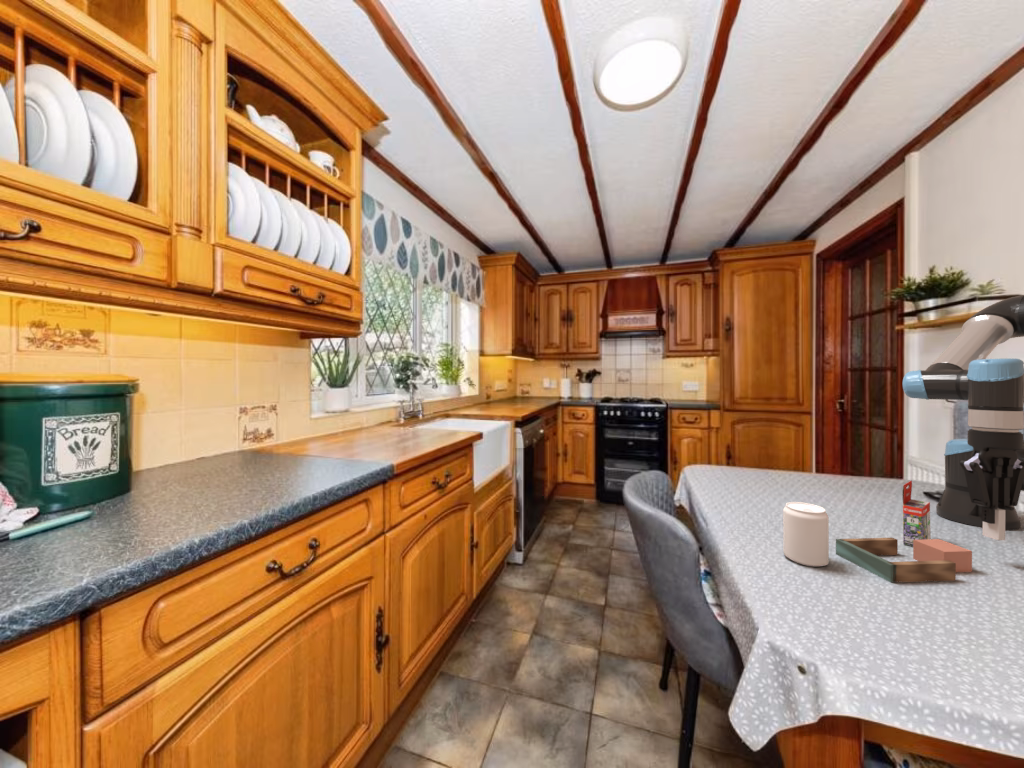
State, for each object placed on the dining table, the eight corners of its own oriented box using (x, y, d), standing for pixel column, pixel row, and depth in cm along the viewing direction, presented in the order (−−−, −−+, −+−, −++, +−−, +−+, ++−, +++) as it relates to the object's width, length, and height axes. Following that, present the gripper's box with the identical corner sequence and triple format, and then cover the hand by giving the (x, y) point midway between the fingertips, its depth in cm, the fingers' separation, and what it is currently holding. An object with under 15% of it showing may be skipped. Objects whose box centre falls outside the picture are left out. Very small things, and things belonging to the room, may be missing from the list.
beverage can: (819, 554, 88) (819, 503, 88) (835, 571, 81) (835, 514, 81) (778, 549, 91) (778, 499, 91) (790, 565, 83) (790, 511, 83)
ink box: (931, 541, 94) (931, 483, 94) (923, 550, 90) (923, 488, 90) (910, 536, 97) (910, 479, 97) (902, 544, 93) (901, 485, 93)
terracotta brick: (939, 558, 86) (939, 539, 86) (971, 572, 80) (971, 551, 80) (913, 559, 86) (913, 539, 86) (944, 573, 80) (944, 551, 80)
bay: (892, 552, 89) (892, 537, 89) (955, 580, 76) (955, 563, 76) (835, 554, 88) (835, 539, 88) (890, 582, 76) (890, 565, 76)
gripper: (1000, 427, 87) (999, 530, 87) (945, 427, 86) (944, 531, 86) (1047, 431, 79) (1046, 544, 79) (987, 431, 79) (986, 545, 79)
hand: (993, 537), depth 83 cm, fingers closed
